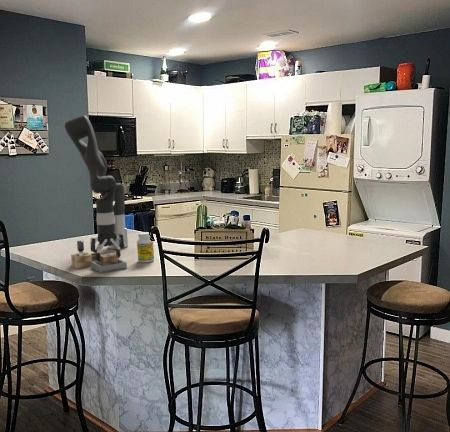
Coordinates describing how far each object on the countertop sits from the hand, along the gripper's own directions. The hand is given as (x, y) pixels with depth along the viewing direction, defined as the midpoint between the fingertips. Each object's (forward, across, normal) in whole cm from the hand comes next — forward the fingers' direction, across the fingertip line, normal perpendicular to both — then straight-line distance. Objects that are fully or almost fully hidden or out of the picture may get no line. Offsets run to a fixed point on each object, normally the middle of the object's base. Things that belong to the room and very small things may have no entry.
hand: (108, 259), depth 217 cm
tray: (+4, 0, 0) cm, 4 cm away
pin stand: (+4, 0, -17) cm, 17 cm away
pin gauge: (+4, +8, -12) cm, 15 cm away
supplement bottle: (+4, -18, -1) cm, 18 cm away
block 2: (+3, 0, 0) cm, 3 cm away
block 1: (+4, +8, -12) cm, 15 cm away
